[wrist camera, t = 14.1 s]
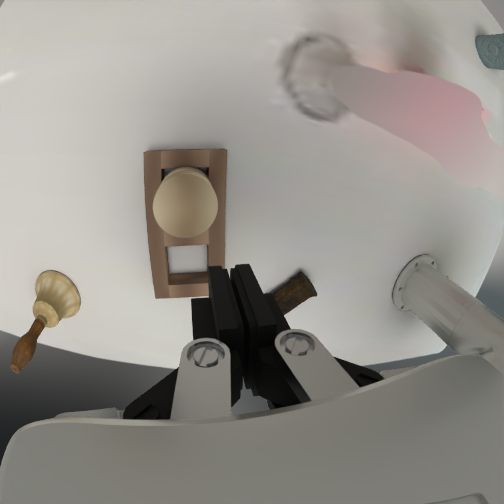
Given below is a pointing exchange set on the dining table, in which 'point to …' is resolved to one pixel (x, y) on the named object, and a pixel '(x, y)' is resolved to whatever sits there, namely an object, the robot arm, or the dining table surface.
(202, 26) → the dining table surface
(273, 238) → the dining table surface
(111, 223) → the dining table surface
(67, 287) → the hand bell
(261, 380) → the robot arm
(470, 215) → the dining table surface
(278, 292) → the hand tool
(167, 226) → the oak peg
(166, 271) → the walnut board
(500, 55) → the grey embossed cup
